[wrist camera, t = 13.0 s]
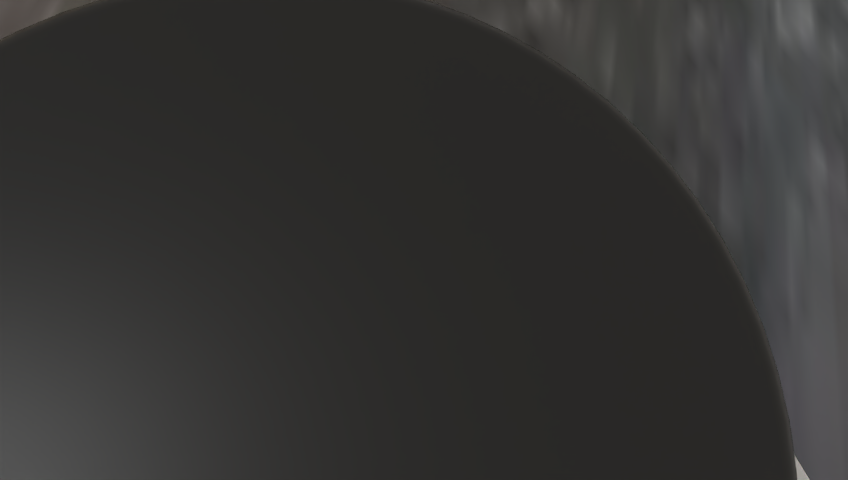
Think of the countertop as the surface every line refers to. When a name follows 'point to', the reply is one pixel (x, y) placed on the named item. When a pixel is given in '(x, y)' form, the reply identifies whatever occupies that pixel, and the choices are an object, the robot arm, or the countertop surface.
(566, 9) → the countertop surface
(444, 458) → the jar
